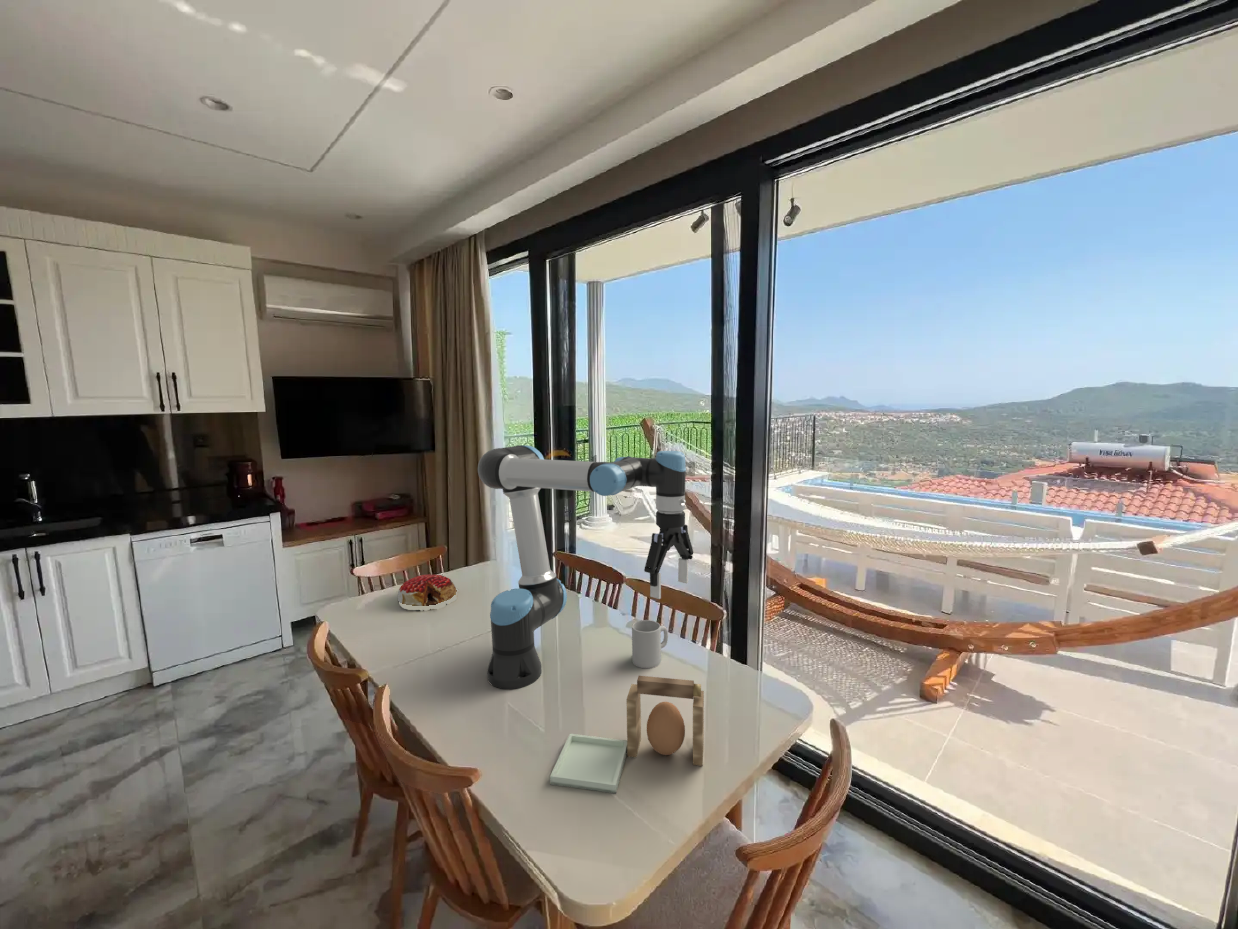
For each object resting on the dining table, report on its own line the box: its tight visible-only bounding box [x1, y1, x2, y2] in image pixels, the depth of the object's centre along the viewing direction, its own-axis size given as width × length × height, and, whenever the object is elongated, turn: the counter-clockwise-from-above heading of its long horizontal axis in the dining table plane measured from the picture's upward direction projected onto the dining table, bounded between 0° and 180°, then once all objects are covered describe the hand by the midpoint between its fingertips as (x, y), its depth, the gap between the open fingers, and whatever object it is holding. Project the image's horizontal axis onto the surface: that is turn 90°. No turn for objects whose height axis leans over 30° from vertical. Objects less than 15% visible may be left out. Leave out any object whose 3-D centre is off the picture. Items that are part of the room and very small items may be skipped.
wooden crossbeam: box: [636, 675, 702, 700], centre depth 108 cm, size 14×2×3 cm, turn 78°
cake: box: [397, 573, 458, 606], centre depth 198 cm, size 23×24×10 cm
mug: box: [631, 619, 669, 669], centre depth 150 cm, size 12×8×11 cm
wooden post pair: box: [626, 683, 705, 767], centre depth 109 cm, size 16×6×13 cm, turn 78°
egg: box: [646, 701, 686, 756], centre depth 110 cm, size 8×8×11 cm
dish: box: [549, 733, 627, 794], centre depth 106 cm, size 13×13×2 cm
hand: (669, 589), depth 133 cm, fingers open, 13 cm apart
